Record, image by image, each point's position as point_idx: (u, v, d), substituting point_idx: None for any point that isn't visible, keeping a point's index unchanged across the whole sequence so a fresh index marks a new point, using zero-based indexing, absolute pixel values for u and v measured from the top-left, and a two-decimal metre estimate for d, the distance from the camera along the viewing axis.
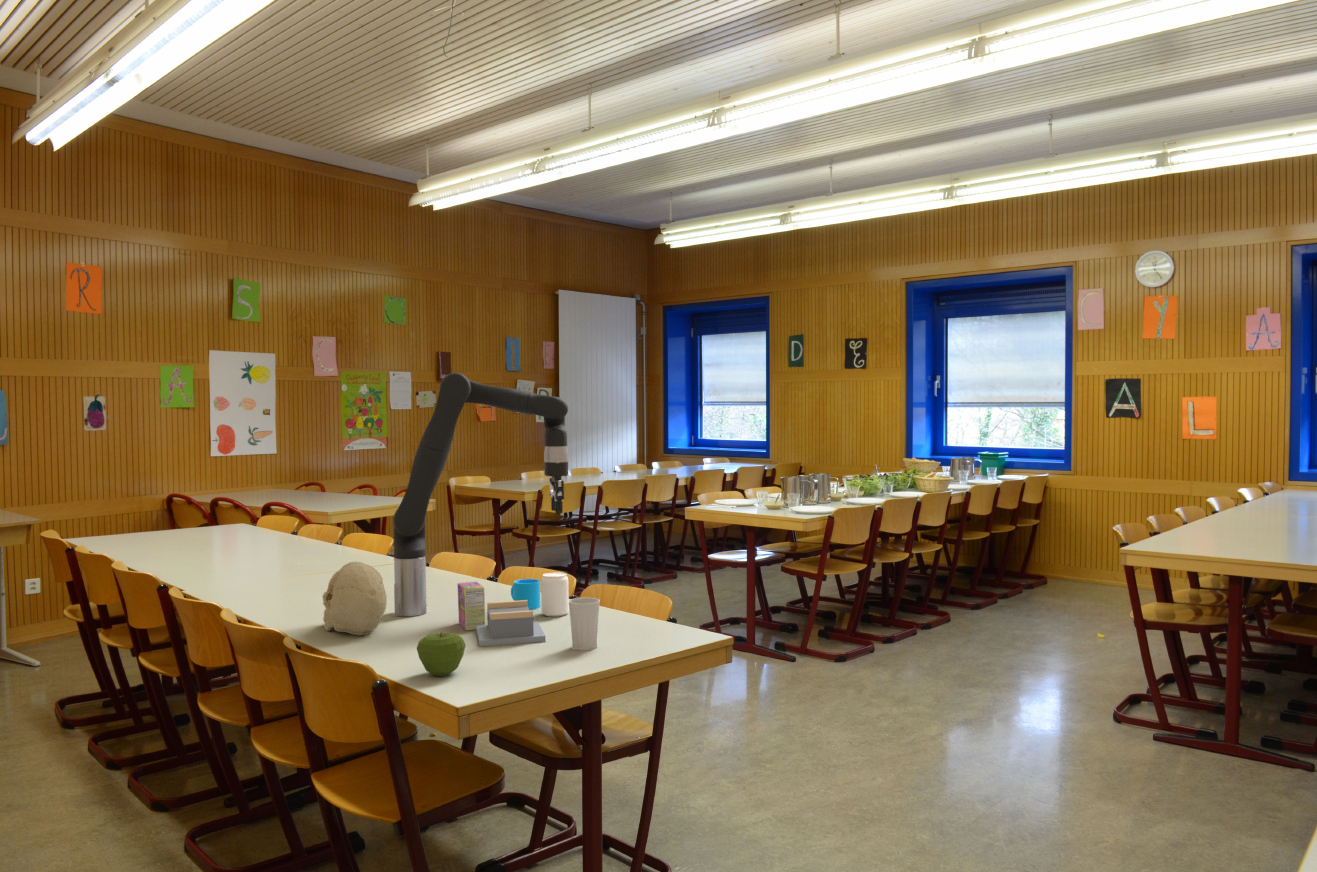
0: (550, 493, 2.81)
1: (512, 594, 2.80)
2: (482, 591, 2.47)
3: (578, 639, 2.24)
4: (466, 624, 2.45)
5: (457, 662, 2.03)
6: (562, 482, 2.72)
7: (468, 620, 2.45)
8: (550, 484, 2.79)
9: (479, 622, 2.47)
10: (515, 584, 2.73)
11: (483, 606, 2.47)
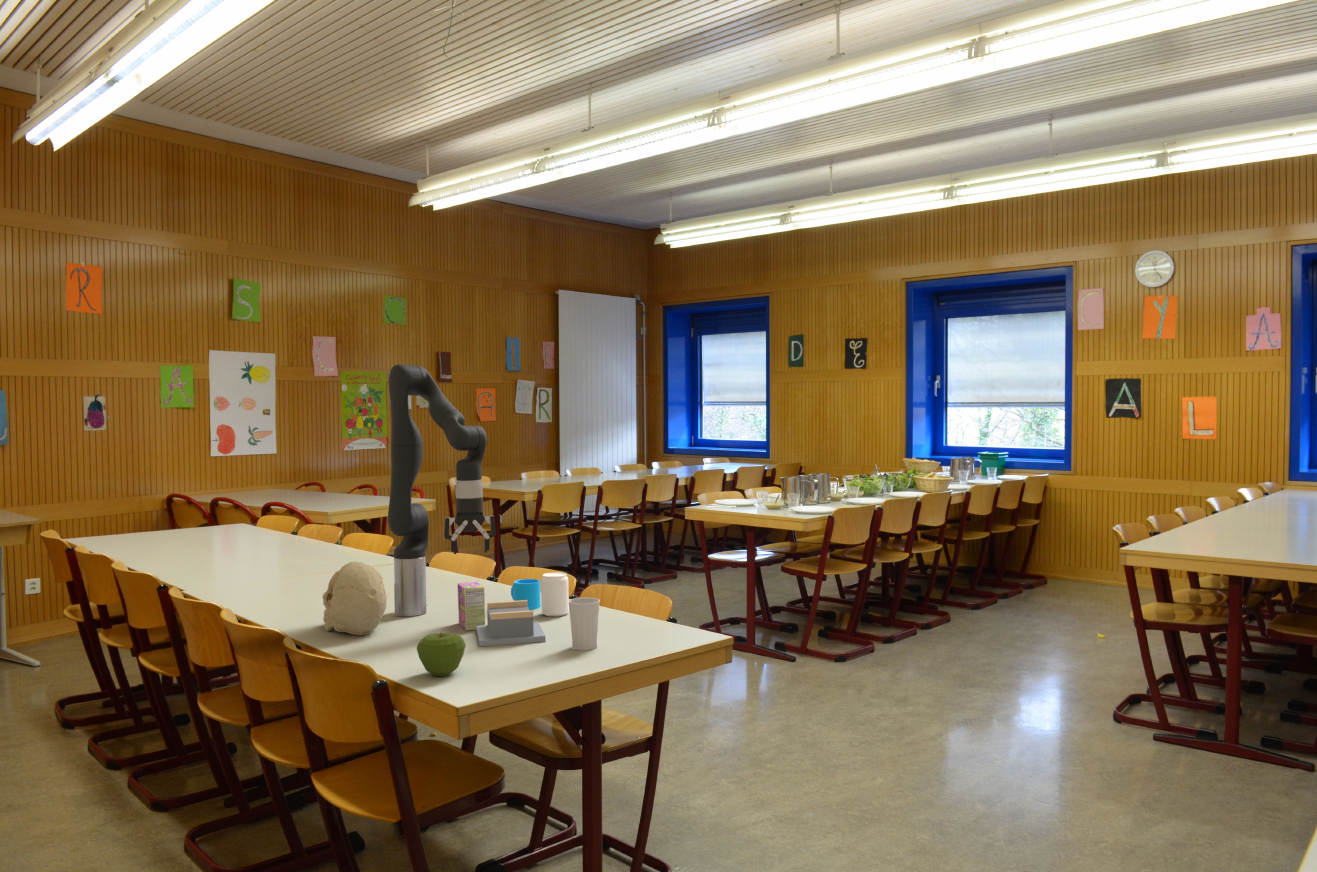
0: None
1: (512, 594, 2.80)
2: (482, 591, 2.47)
3: (578, 639, 2.24)
4: (466, 624, 2.45)
5: (457, 662, 2.03)
6: None
7: (468, 620, 2.45)
8: (467, 523, 2.48)
9: (479, 622, 2.47)
10: (515, 584, 2.73)
11: (483, 606, 2.47)
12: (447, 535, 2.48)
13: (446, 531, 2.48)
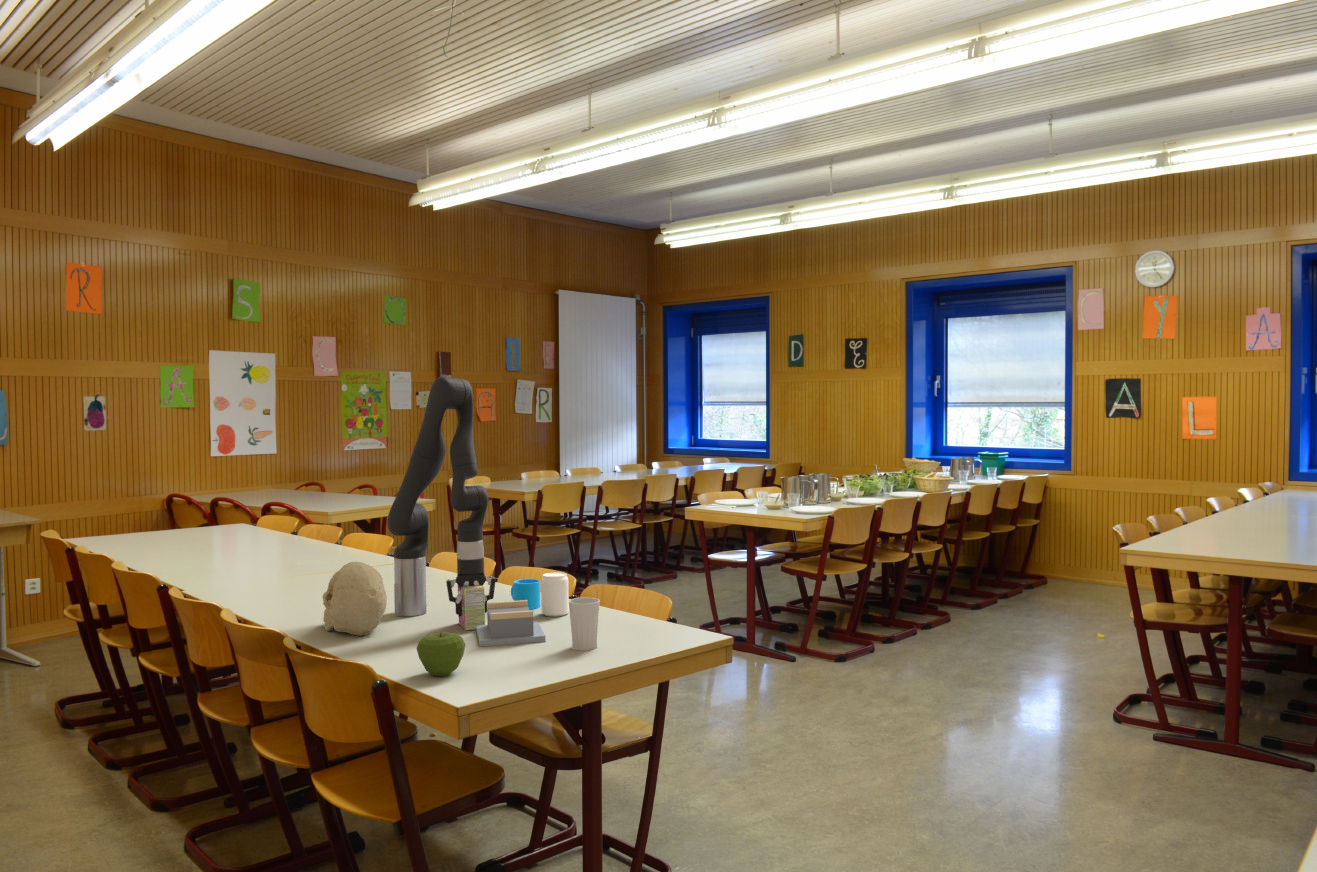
0: None
1: (512, 594, 2.80)
2: (482, 591, 2.47)
3: (578, 639, 2.24)
4: (466, 624, 2.45)
5: (457, 662, 2.03)
6: None
7: (468, 620, 2.45)
8: (468, 583, 2.49)
9: (479, 622, 2.47)
10: (515, 584, 2.73)
11: (483, 606, 2.47)
12: (452, 598, 2.48)
13: (450, 594, 2.48)
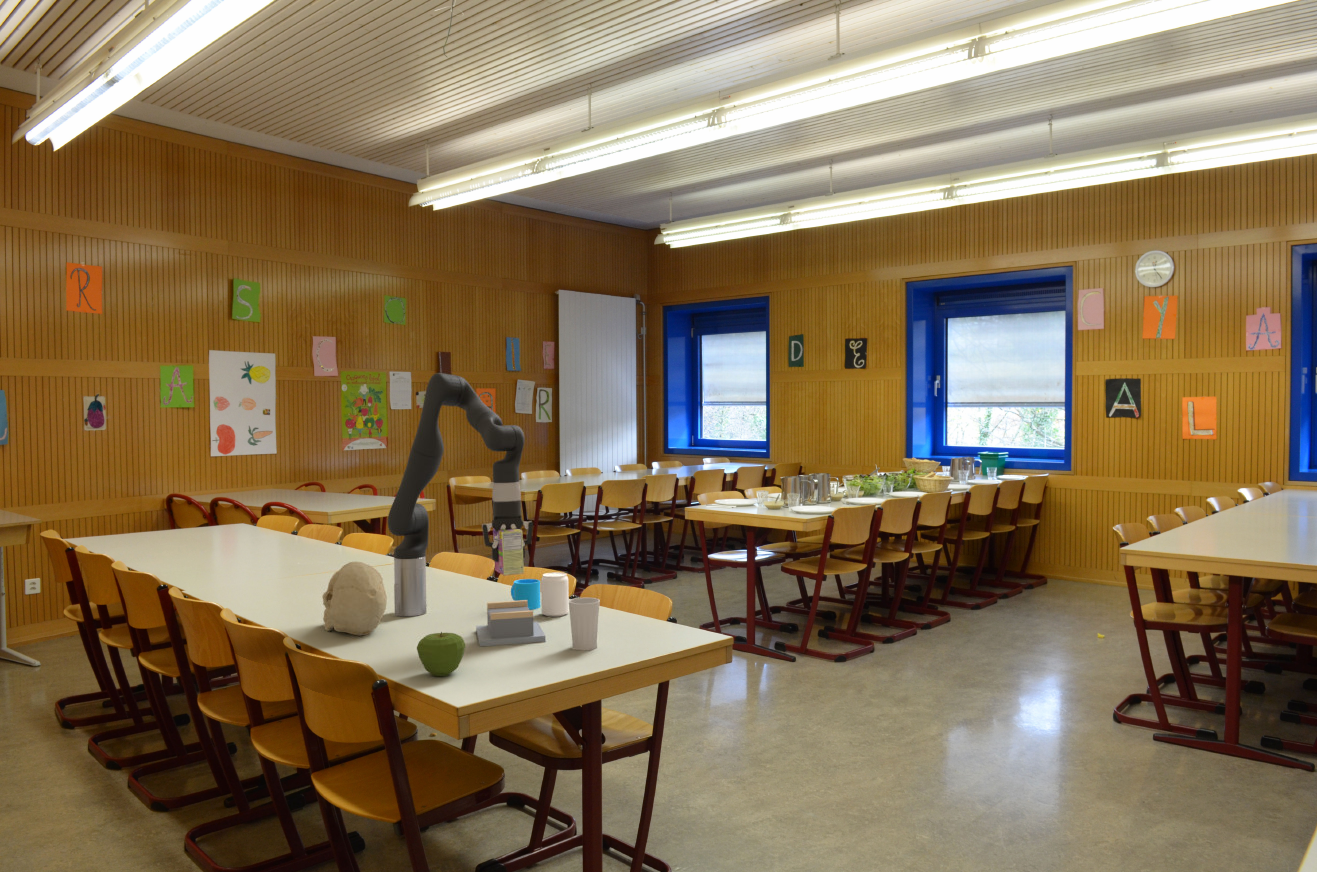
0: None
1: (512, 594, 2.80)
2: (520, 534, 2.35)
3: (578, 639, 2.24)
4: (504, 569, 2.33)
5: (457, 662, 2.03)
6: None
7: (506, 564, 2.33)
8: (505, 527, 2.37)
9: (517, 566, 2.35)
10: (515, 584, 2.73)
11: (521, 550, 2.35)
12: (488, 542, 2.36)
13: (486, 538, 2.36)
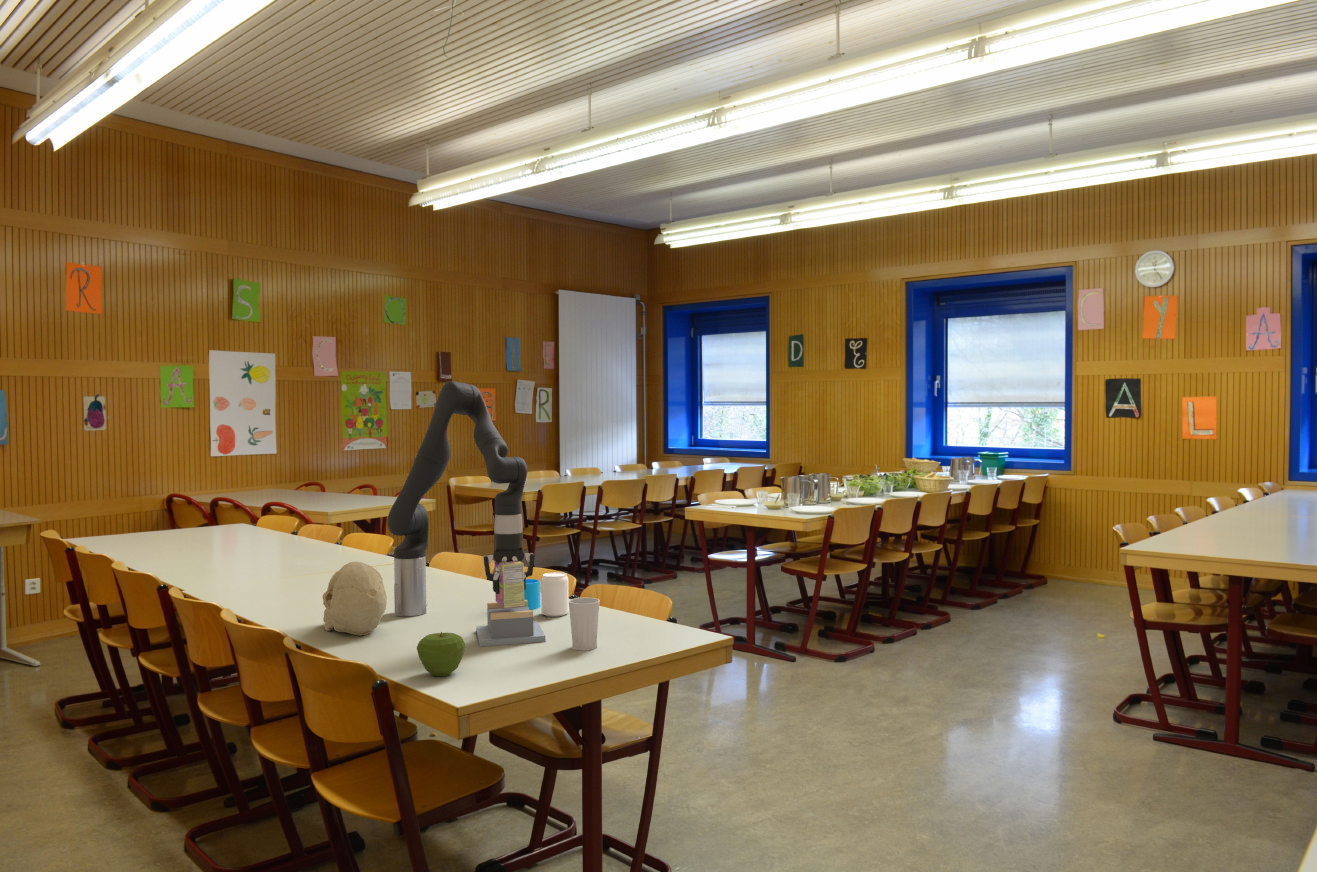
0: None
1: None
2: (521, 567, 2.35)
3: (578, 639, 2.24)
4: (504, 601, 2.33)
5: (457, 662, 2.03)
6: None
7: (506, 597, 2.33)
8: (506, 559, 2.37)
9: (518, 599, 2.34)
10: None
11: (522, 583, 2.35)
12: (489, 574, 2.36)
13: (487, 570, 2.36)
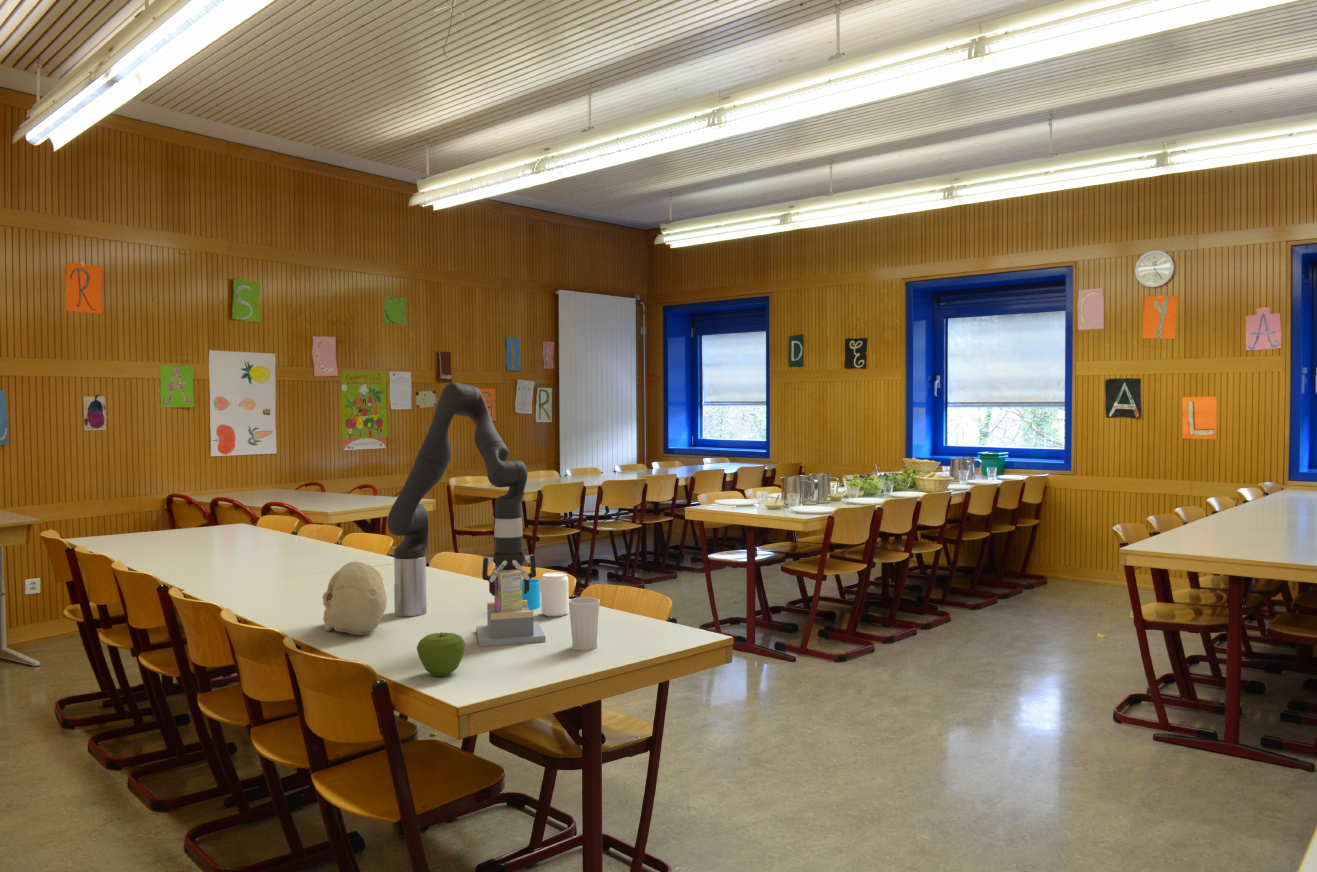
0: None
1: None
2: (519, 575, 2.35)
3: (578, 639, 2.24)
4: (502, 610, 2.33)
5: (457, 662, 2.03)
6: None
7: (504, 605, 2.33)
8: (506, 563, 2.37)
9: (515, 608, 2.34)
10: None
11: (520, 591, 2.35)
12: (485, 576, 2.36)
13: (484, 572, 2.36)
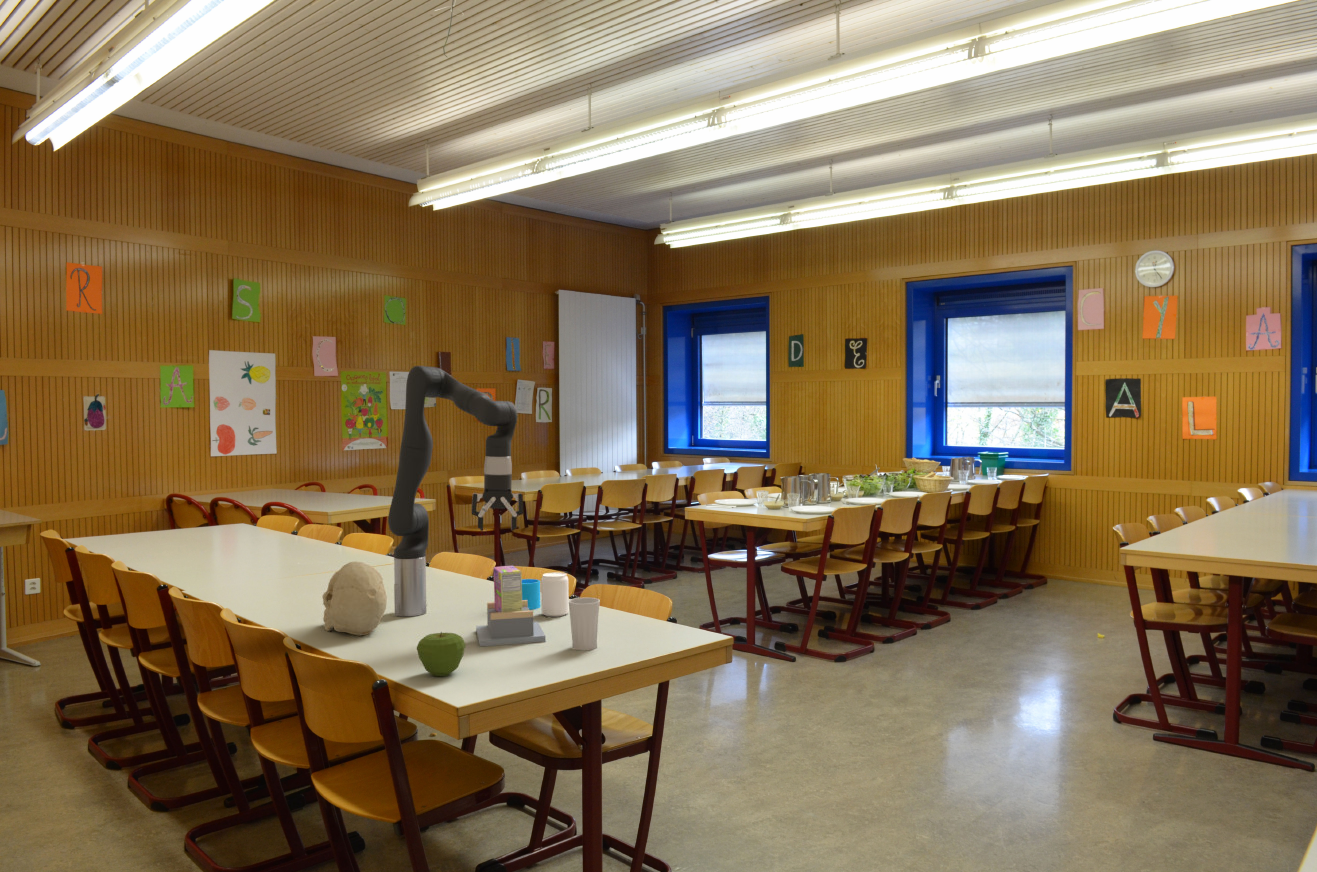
0: (486, 510, 2.45)
1: None
2: (519, 575, 2.35)
3: (578, 639, 2.24)
4: (502, 610, 2.33)
5: (457, 662, 2.03)
6: None
7: (504, 605, 2.33)
8: (495, 500, 2.45)
9: (515, 608, 2.34)
10: None
11: (520, 591, 2.35)
12: (474, 511, 2.44)
13: (473, 507, 2.44)
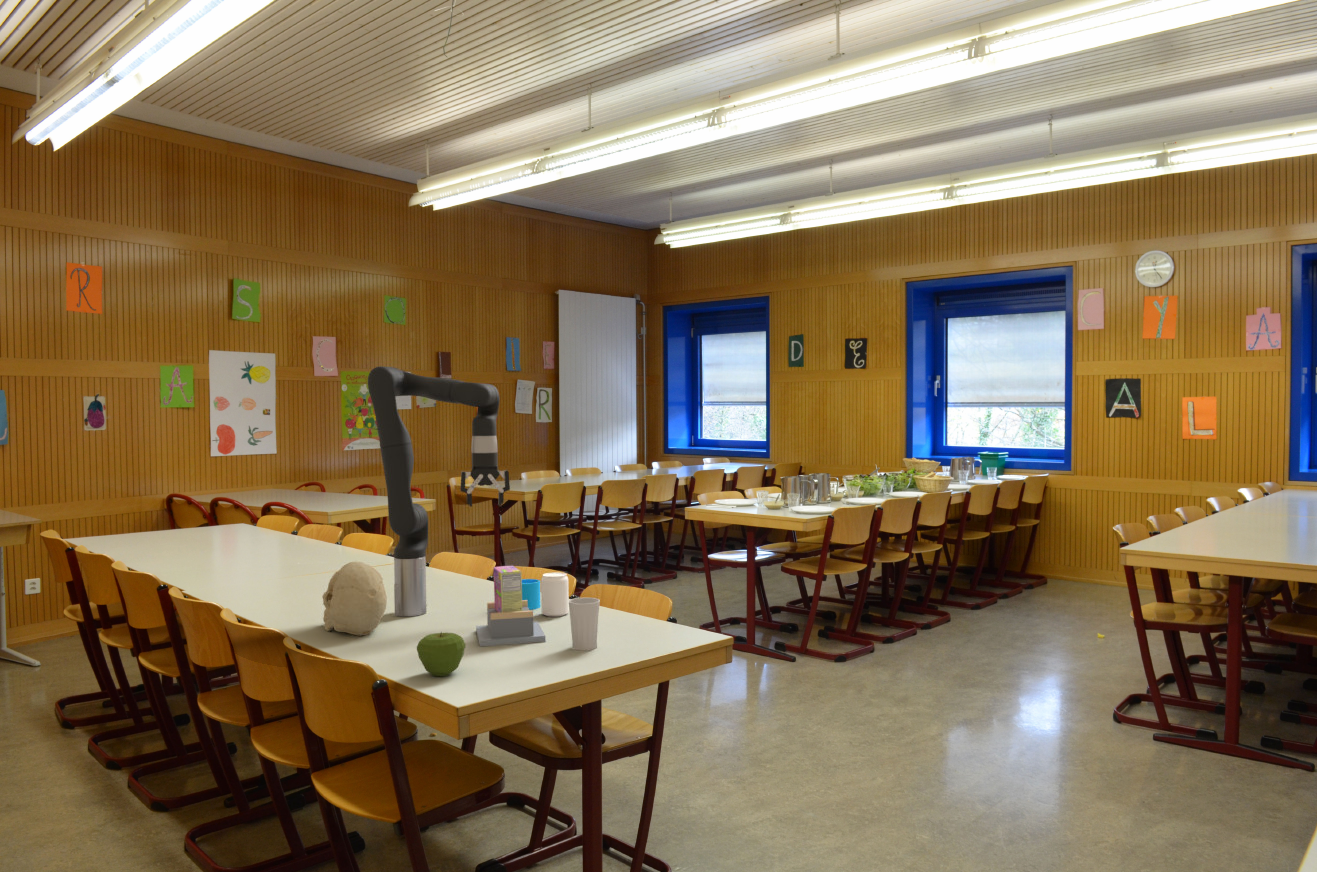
0: (474, 487, 2.59)
1: None
2: (519, 575, 2.35)
3: (578, 639, 2.24)
4: (502, 610, 2.33)
5: (457, 662, 2.03)
6: None
7: (504, 605, 2.33)
8: (482, 477, 2.59)
9: (515, 608, 2.34)
10: None
11: (520, 591, 2.35)
12: (463, 488, 2.58)
13: (462, 484, 2.58)
